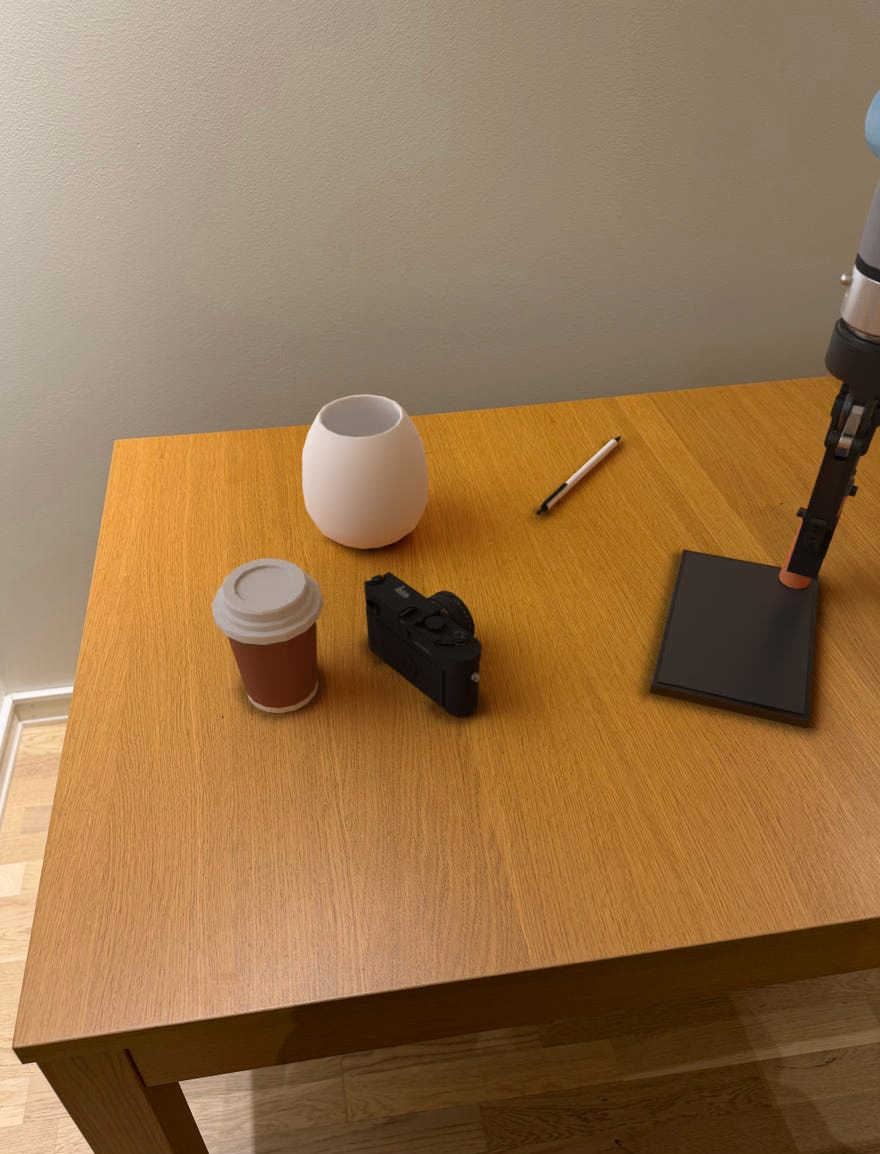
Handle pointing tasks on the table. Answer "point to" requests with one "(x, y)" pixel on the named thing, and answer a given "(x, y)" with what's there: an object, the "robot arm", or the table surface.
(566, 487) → the pen
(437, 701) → the camera
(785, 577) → the orange cylinder
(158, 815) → the table surface
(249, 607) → the coffee cup
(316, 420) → the white vase
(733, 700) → the plate
